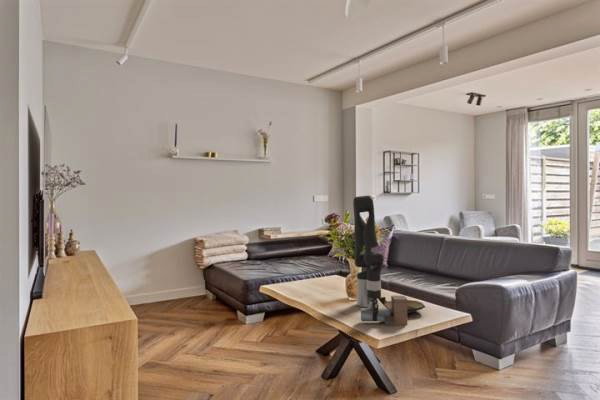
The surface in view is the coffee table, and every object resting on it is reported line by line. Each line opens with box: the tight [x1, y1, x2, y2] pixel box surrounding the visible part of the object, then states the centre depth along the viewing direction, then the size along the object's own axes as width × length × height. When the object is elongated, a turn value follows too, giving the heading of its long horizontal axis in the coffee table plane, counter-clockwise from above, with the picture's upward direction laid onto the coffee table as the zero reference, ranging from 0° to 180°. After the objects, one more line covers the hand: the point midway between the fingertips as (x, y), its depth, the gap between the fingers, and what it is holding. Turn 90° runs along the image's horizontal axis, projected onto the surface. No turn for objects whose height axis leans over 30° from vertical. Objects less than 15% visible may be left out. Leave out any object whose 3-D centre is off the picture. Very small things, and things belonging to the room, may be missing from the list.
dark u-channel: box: [384, 295, 408, 326], centre depth 215 cm, size 8×12×14 cm, turn 89°
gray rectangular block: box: [360, 307, 391, 322], centre depth 215 cm, size 4×16×6 cm, turn 89°
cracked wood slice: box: [377, 296, 426, 314], centre depth 237 cm, size 22×30×8 cm
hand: (374, 319), depth 215 cm, fingers closed on gray rectangular block, 3 cm apart
